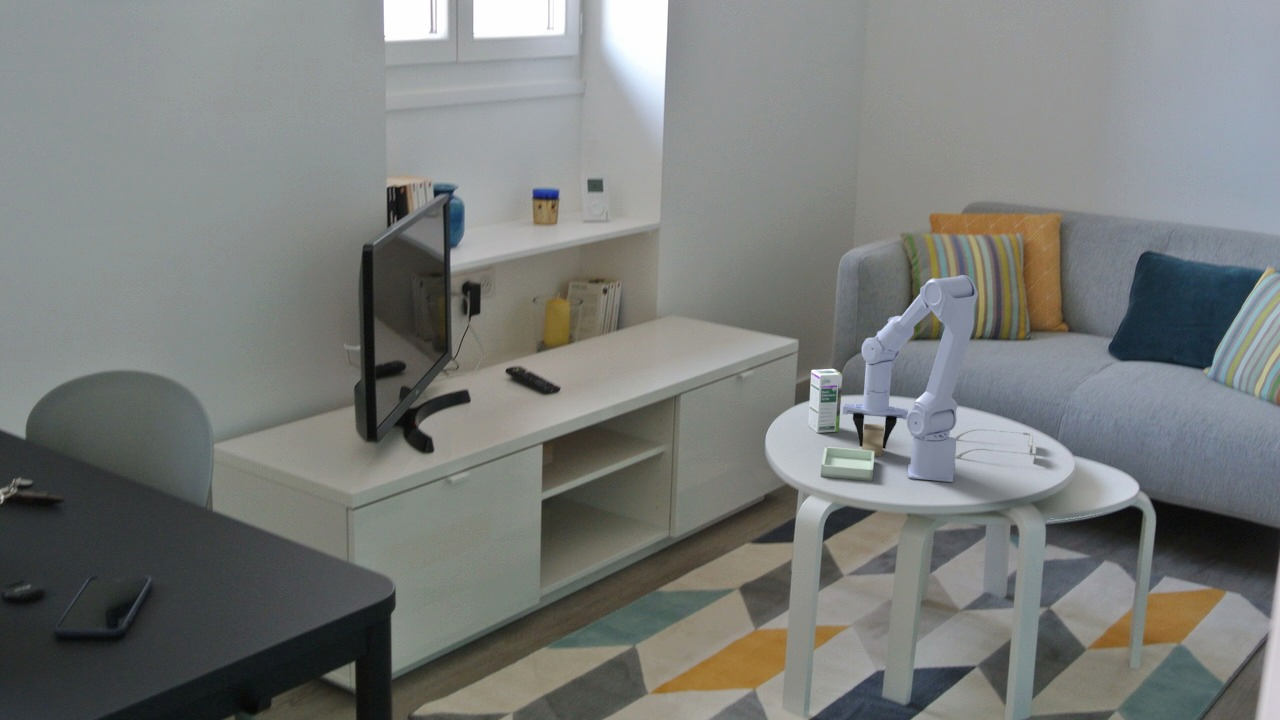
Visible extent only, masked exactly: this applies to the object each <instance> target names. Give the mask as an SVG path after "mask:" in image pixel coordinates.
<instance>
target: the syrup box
mask: <svg viewBox="0 0 1280 720" xmlns="http://www.w3.org/2000/svg"><path fill="white" fill-rule="evenodd" d="M810 371H811V372H810V388H809V389H810V390H809V409H808V427H809V428H810V429H811V430H812V431H814V432H815V433H817V434H821V433H822V434H823V433H838V432H839V431H840V420H841V419H840V417H841V404H842V403H841V402H842V401H841V400H842V386H843V374H842V373H841V372H840V371H838V370H837V369H834V368H829V369H825V368H824V369H812V370H810Z"/></svg>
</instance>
